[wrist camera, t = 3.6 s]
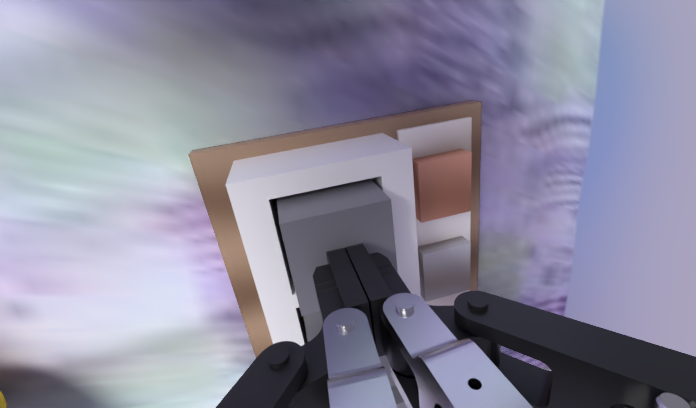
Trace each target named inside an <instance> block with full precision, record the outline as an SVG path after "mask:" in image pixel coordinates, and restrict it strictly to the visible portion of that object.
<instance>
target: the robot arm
mask: <svg viewBox="0 0 696 408" xmlns="http://www.w3.org/2000/svg"><path fill="white" fill-rule="evenodd" d="M326 255H327V261H328V264H327V265H323V266H319V267H316V269H315V271H314V274H313V280H314V285H315V290H316V294H317V299H318V304H319V309H320V313H321V317H322V322H323V325H322V328H321V330H320V332H319V333H318V335H317V336H316V337H315V338H313V339H312V340H311V341H309V342H308V343H306V344H304V345H302V346H300V345H299V344H297V343H295V342H292V341H281V342H277V343H275V344H272V345H270V346H269V347H267V348H266V349H265V350H263V351H262V352H261V353H260V355H259V356H258V357H257V358H256V359H255V361H254V362H253V363H252V364H251V365H250V367H249V368H248V369H247V370H246V372H245V373H244V374H243V375H242V376H241V378H240V379H239V380H238V381H237V383H236V384H235V385H234V386H233V387H232V389H231V390H230V391H229V392H228V393H227V395H226V396H225V397H224V398H223V400H222V401H221V402H220V403H219V404H218V406H217V407H216V408H397V405H396V402H395V399H394V396H393V392H392V389H391V386H390V383H389V379H388V376H387V373H386V370H385V368H384V366H381V363H380V360H379V357H381V356H384V355H386V356H387V358H388V361H389V366H390V373H391V376H392V379H393V380H394V382H395V384H396V386H397V388H398V390H399V392H400V394H401V396H402V398H403V400H404V402H405V404H406V406H407V408H696V357H694V356H691V355H688V354H685V353H681V352H678V351H675V350H671V349H668V348H665V347H662V346H659V345H655V344H652V343H648V342H645V341H642V340H639V339H636V338H632V337H629V336H626V335H622V334H619V333H616V332H613V331H609V330H606V329H603V328H600V327H596V326H593V325H590V324H587V323H583V322H580V321H577V320H574V319H570V318H567V317H564V316H561V315H557V314H554V313H551V312H547V311H544V310H541V309H538V308H534V307H531V306H528V305H525V304H521V303H518V302H515V301H512V300H508V299H505V298H502V297H499V296H495V295H492V294H489V293H485V292H481V291H467V292H464V293H461V294H460V295H458V296H457V297H456V299H455V301H454V305H453V306H433V305H428V304H427V303H426V302H425V301H424V300H423V299H422V298H421V297H420V296H418V295H415V294H411V292H410V291H409V289H408V288H407V286H406V285H405V283H404V282H403V280H402V279H401V277H400V276H399V274H398V273H397V272H396V270H395V268H394V267H393V266H392V264H391V262H390V261H389V259H388V258H387V257H386V256H384V255H382V254H381V253H379V252H376V253H372V254H369V253H368V251H367V250H366V248H365V246H364V245H363V243H361V244H357V245H353V246H349V247H345V249H344V248H340V249H336V250H332V251H328V252H326ZM501 346H504V347H506V348H509V349H511V350H514V351H517V352H519V353H522V354H524V355H527V356H529V357H532V358H534V359H537V360H539V361H542V362H543V363H545V364H546V365H547V366H548V367H549V368H550V369H551V370H552V371H546V370H544V369H541V368H539V367H536V366H534V365H531V364H529V363H526V362H524V361H521V360H519V359H516V358H514V357H511V356H509V355H506V354H504V353H501V352H500V350H501Z"/></svg>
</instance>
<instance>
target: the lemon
mask: <svg viewBox="0 0 696 408" xmlns="http://www.w3.org/2000/svg"><path fill="white" fill-rule="evenodd" d="M0 408H7V404H6V400H5V398H4V396H3V394H2V392H1V391H0Z"/></svg>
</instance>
